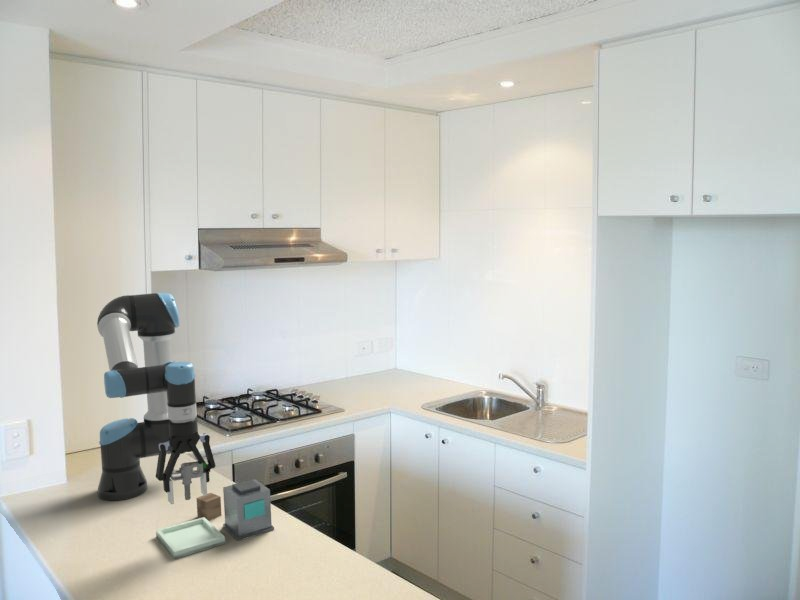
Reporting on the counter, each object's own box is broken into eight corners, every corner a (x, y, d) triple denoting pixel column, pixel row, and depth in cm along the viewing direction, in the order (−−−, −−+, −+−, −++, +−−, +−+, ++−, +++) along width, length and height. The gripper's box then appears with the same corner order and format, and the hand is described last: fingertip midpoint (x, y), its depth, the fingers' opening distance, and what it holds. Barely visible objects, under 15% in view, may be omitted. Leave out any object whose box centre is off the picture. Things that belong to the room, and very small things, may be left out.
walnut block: (197, 516, 213) (196, 497, 212) (211, 511, 217) (210, 492, 216) (207, 521, 210) (206, 502, 209) (221, 515, 213) (220, 496, 213)
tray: (156, 536, 200) (156, 530, 200) (204, 523, 208) (204, 516, 208) (174, 559, 187) (174, 552, 187) (225, 543, 195) (224, 536, 195)
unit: (222, 526, 206) (220, 483, 204) (258, 516, 212) (255, 474, 210) (237, 540, 197) (235, 496, 195) (274, 529, 203) (272, 486, 201)
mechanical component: (168, 499, 196) (166, 464, 194) (206, 494, 199) (204, 460, 198) (168, 503, 193) (167, 468, 192) (207, 498, 196) (205, 463, 195)
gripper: (146, 430, 184) (152, 512, 187) (225, 414, 196) (229, 492, 199) (138, 423, 190) (144, 503, 193) (215, 408, 202) (219, 484, 205)
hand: (187, 498), depth 196 cm, fingers closed on mechanical component, 9 cm apart
